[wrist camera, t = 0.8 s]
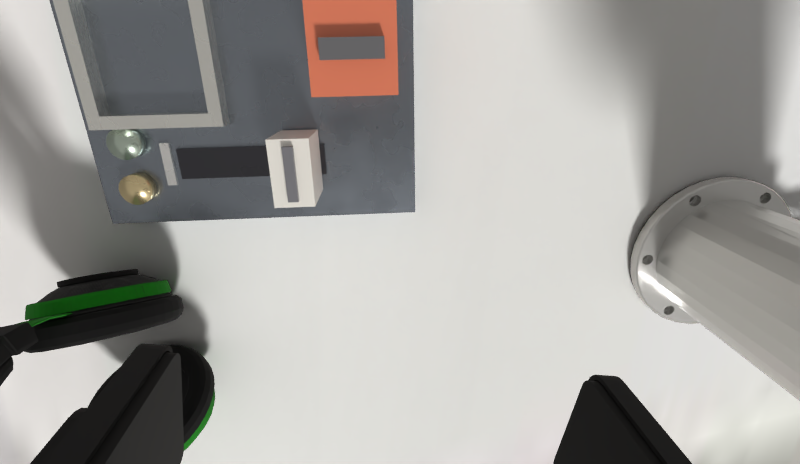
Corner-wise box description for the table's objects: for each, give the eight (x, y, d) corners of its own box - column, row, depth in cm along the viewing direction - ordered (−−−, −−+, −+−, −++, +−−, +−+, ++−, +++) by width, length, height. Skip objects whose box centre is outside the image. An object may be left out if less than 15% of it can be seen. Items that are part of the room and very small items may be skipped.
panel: (409, -25, 26) (414, -37, 23) (412, 203, 32) (416, 217, 29) (66, -20, 26) (25, -32, 23) (128, 214, 31) (102, 229, 28)
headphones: (180, 231, 32) (-100, 461, 13) (245, 392, 37) (114, 713, 19) (59, 255, 32) (-388, 515, 13) (142, 411, 37) (-90, 749, 19)
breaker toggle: (317, 129, 27) (307, 139, 23) (323, 189, 29) (314, 208, 25) (280, 130, 27) (263, 140, 23) (287, 190, 29) (273, 209, 25)
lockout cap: (392, 11, 25) (396, -6, 20) (394, 90, 27) (399, 95, 21) (317, 13, 25) (299, -4, 19) (323, 92, 27) (309, 98, 21)
